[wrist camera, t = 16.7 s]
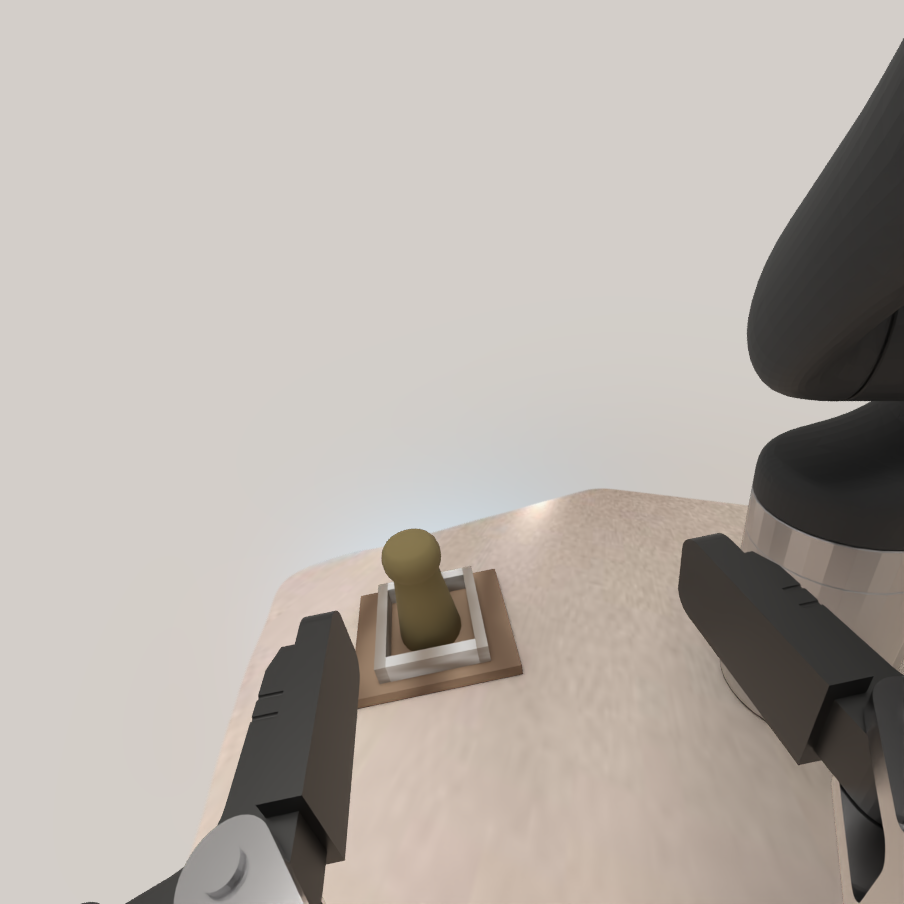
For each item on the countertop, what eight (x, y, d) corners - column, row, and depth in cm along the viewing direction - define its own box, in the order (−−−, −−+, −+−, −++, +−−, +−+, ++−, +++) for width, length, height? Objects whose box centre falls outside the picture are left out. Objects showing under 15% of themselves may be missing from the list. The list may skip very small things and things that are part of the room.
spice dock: (495, 576, 49) (492, 554, 48) (522, 673, 38) (519, 650, 37) (363, 603, 49) (356, 582, 47) (354, 709, 38) (343, 686, 37)
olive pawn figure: (429, 594, 47) (408, 511, 42) (473, 619, 43) (455, 531, 38) (388, 634, 43) (358, 549, 38) (432, 666, 39) (405, 576, 34)
